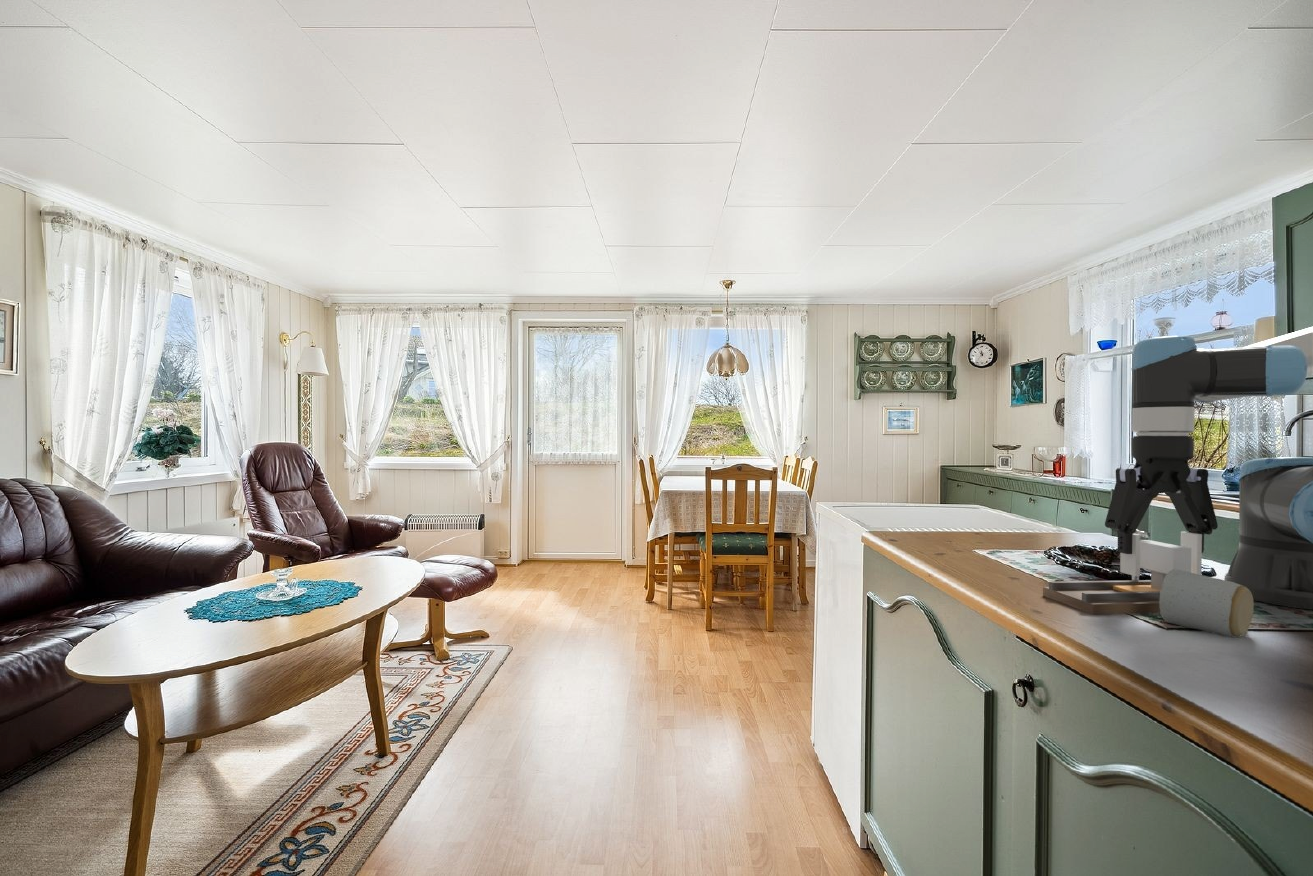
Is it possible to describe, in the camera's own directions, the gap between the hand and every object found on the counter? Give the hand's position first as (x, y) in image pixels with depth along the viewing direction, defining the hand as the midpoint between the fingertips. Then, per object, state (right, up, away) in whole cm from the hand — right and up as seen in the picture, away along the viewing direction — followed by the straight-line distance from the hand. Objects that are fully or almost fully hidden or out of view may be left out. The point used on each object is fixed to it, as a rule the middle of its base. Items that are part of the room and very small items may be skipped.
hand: (1160, 573), depth 93 cm
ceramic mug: (-4, -5, -12) cm, 13 cm away
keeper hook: (0, -3, +4) cm, 5 cm away
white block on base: (-1, -3, 0) cm, 3 cm away
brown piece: (-7, -5, -1) cm, 8 cm away
